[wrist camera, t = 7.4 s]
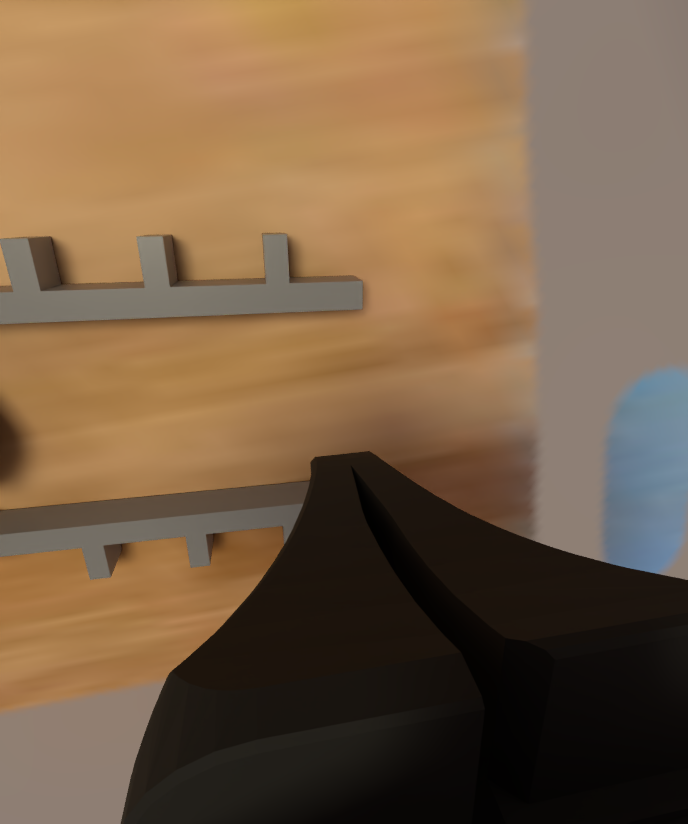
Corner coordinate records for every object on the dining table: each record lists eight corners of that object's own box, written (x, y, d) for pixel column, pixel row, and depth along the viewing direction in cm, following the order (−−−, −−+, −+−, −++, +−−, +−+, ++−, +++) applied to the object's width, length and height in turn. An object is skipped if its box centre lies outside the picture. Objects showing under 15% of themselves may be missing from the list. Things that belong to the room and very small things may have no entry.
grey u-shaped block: (353, 523, 23) (368, 567, 20) (-127, 577, 20) (-193, 639, 17) (352, 231, 18) (371, 234, 15) (-289, 241, 15) (-422, 247, 12)
